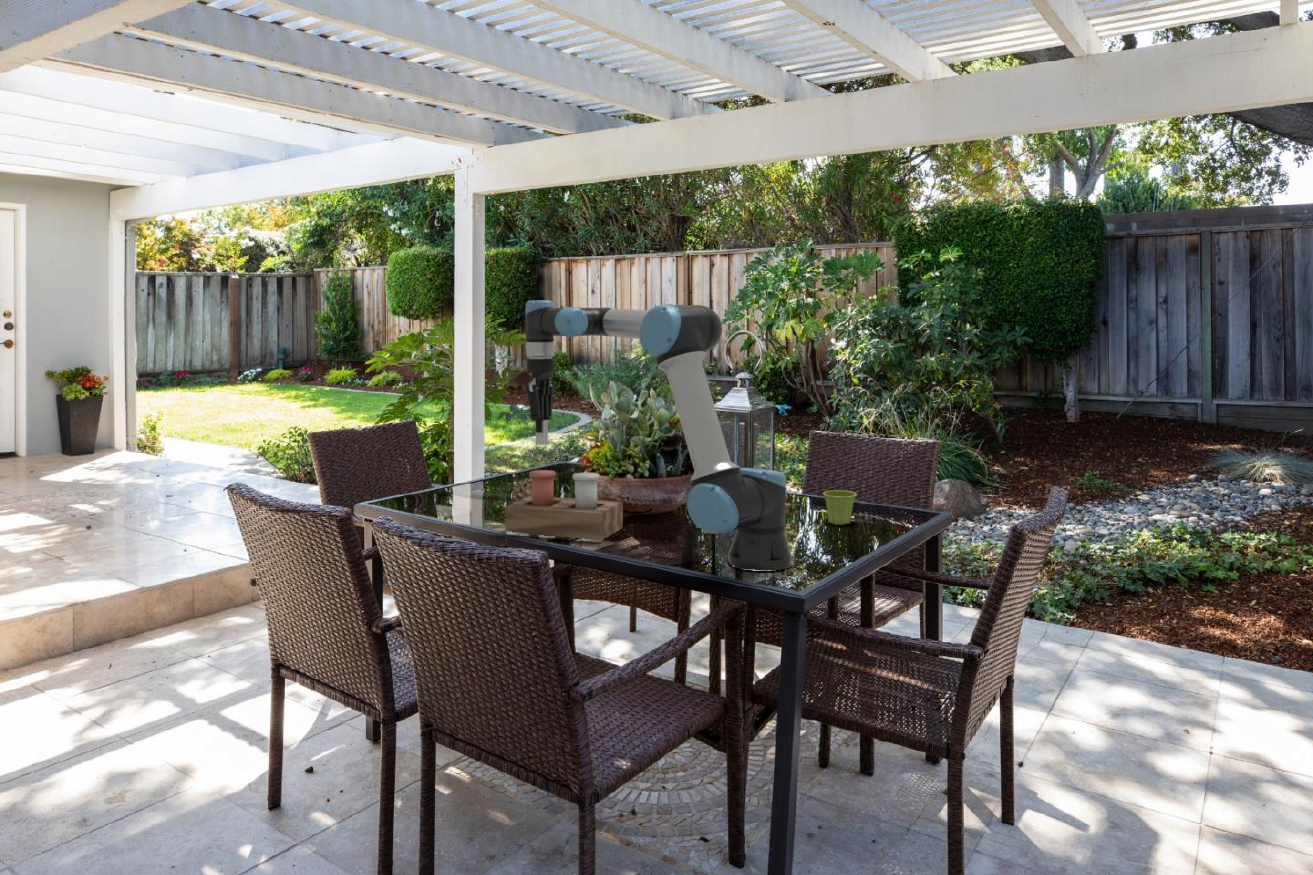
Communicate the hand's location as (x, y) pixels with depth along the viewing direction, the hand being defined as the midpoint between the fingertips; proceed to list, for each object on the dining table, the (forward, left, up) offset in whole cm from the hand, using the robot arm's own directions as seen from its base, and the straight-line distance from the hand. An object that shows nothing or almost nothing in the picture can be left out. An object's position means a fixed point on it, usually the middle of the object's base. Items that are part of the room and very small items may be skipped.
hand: (541, 443), depth 253 cm
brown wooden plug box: (0, -7, -24) cm, 25 cm away
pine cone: (+19, +14, -25) cm, 34 cm away
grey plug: (0, -13, -19) cm, 23 cm away
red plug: (0, 0, -19) cm, 19 cm away
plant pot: (+36, -77, -25) cm, 88 cm away
